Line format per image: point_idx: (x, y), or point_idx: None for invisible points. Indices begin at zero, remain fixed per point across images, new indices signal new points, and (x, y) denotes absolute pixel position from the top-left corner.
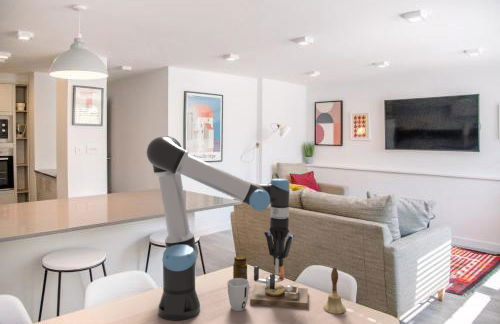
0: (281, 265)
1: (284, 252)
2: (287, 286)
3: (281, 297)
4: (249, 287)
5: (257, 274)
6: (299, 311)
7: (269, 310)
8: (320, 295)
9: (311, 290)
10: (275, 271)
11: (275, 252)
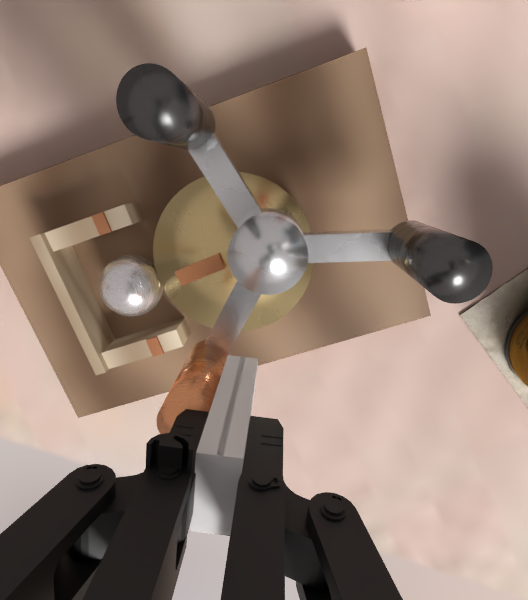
0: (177, 416)
1: (35, 541)
2: (130, 284)
3: (163, 199)
4: (468, 318)
5: (408, 239)
6: (10, 124)
7: (188, 30)
8: (14, 403)
9: (90, 445)
10: (253, 369)
11: (239, 536)
